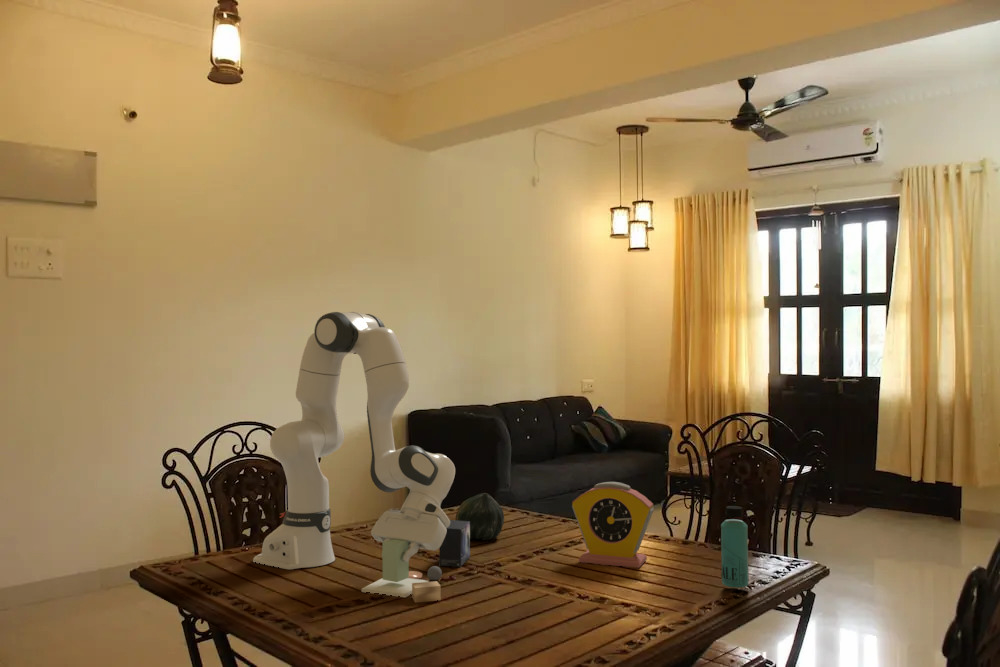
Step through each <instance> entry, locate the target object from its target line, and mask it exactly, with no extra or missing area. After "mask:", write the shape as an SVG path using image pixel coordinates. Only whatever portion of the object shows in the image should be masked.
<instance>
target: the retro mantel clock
mask: <svg viewBox="0 0 1000 667" xmlns="http://www.w3.org/2000/svg"><path fill="white" fill-rule="evenodd" d="M571 503H572V505H571V508H572V510H573V513H574V516H575V519H576V522H577V525H578V527H579V531H580V532H581V536H582V539H583V542H584V544H585V546H586V549H587V550H586V551H585V552H584V553H583V554H582V555H580V556H579V557H578V562H579V563H580V562H581V563H580V564H587V563H594V564H593V565H598V564H603V565H602V566H608V565H611V567H619V566H623V567H622V568H629V567H635V568H634V569H639V568H640V567H641V566H643V564H644V563H645V562H646V561H647V559H648V558H647V557H648V556H647V554H646V553H638V551H639V550H640V548H641V545H642V542H643V539H644V537H645V534H646V531H647V528H648V527H649V526H648V525H649V523H650V520H651V519H652V518H651V517H652V516H653V515H652V514H653V512H654V509H655V508H654V503H653V502H652V501H651V500H649V499H648V497H646V496H645V495H644V494H642V493H640V492H639V491H638V490H636V489H633V488H631V486H630V485H629V484H625V483H623V482H618V481H604V482H599V483H597V484H594V486H593V487H592V488H590V489H589V490H587V491H585V492H584V493H582V494H580V495H579V496H577V497H576V498H575V499H573V501H572V502H571ZM636 567H637V568H636Z"/></svg>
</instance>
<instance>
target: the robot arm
mask: <svg viewBox="0 0 1000 667" xmlns="http://www.w3.org/2000/svg"><path fill="white" fill-rule="evenodd" d="M348 354H354V355H358V357H360V359H361V362H362V366H363V372H364V377H365V382H366V392H367V402H366V416H367V422H368V424H367V426H368V432H369V434H368V435H369V441H370V447H371V448H370V449H371V462H370V470H369V471H370V477H371V480H372V482H373V484H374V485H375V486H376V488H378V489H379V490H380V491H382V492H384V493H393V492H396V491H398V490H401V489H403V488H405V487H407V489H409V493H408V495H407V496H406V499H405V500H404V502H403V504H402V506H401V507H400V508H395V507H391V508H389V509H388V510H385V511H384V512H383V513H382V514H381V516H380V517H379V518H378V519H377V521H376V522H375V524H374V525H373V526H372V528H371V531H370V533H371V536H372V537H373V538H374V540H375V541H377V542H378V543H379V542H380V543H382V542H385V541H389V540H392V539H397V540H403V541H409V549H408V550H407V551H406V552H402V555H401V556H400V559H401V560H402V561H403V562H408V561H409V562H410V558H411V557H413V556H414V555H416V553H417V552H419V550H420V549H421V550H422V549H423V550H430V551H437V550H438V549H439V548H440V546H441V545H442V543H443V540H444V538H445V536H446V533H447V529H446V528H447V527H449V525H450V520H451V519H450V518H449V517H448V515H447V514H446V513H445V511H444V510H443V509H442V508H441V505H442V503H443V500H444V499H445V498H446V497H447V495H448V494H449V491H450V489H451V487H452V485H453V483H454V479H455V475H456V467H455V464H454V462H453V461H452V460H451V459H450V458H449V457H447V455H445V454H443V453H432V452H429V451H426V450H424V448H422V447H420V446H418V445H414V444H412V445H408V446H404V447H401V448H399V449H396V447H395V445H396V444H395V439H394V437H395V436H394V430H393V424H392V423H393V421H392V420H393V415H394V412H395V410H396V408H397V406H398V405H399V403H400V402H401V401H402V399H403V398H404V397H405V396H406V394H407V392H408V390H409V386H410V379H409V378H410V377H409V371H408V366H407V363H406V359H405V356H404V351H403V350H402V347H401V344H400V342H399V339H398V337H397V335H396V333H395V332H394V331H393V330H392V329H391V328H389V327H386V326H385V324H384V323H383V321H382V320H381V319H380V318H379V317H376V316H375V315H373V314H370V313H362V312H356V311H348V312H338V311H332V312H329V313H326V314H323V315H322V316H320V317H319V318H318V320H316V323H315V325H314V332H313V333H311V334H310V336H309V337H308V339H307V340H306V343H305V347H304V350H303V352H302V356H301V362H300V365H299V371H298V378H297V383H296V390H295V397H296V399H297V401H298V402H299V403H300V406H301V410H302V411H301V412H302V414H301V415H302V416H301V419H300V420H295V421H290V422H287V423H285V424H283V425H281V426H279V427H277V428H276V429H274V431H273V433H272V434H271V437H270V439H269V445H270V446H269V447H270V451H271V453H272V455H273V456H274V457H275V458H276V460H278V461H279V462H280V463H281V466H282V468H283V472H284V474H285V475H284V476H285V478H286V483H287V484H286V486H287V508H288V509H287V510H285V511H284V512H282V513H279V515H281V516H279V518H283V519H282V524H280V525H279V526H278V527H276V529H274V530H273V531H272V532H270V533H269V534H268V535H267V536H266V537H264V540H263V543H262V548H261V553H259V554H257V555H255V556H254V557H253V559H252V562H253V563H255V562H256V564H259V563H260V564H259V565H264V564H265V566H269V567H270V566H271V567H273V566H274V567H275V568H278V567H279V569H284V570H294V569H295V570H296V569H301V568H302V569H303V568H315V567H319V566H325V565H328V564H331V563H333V562H335V560H336V557H335V556H336V555H335V553H334V550H333V544H332V539H331V538H332V537H331V530H330V529H331V525H332V523H331V522H332V521H331V520H332V518H331V516H332V515H331V512H332V511H331V508H330V483H329V479H328V478H327V477H326V475H324V474H323V472H322V470H321V467H320V462H319V458H322V457H323V458H324V457H327V456H329V455H331V454H333V453H334V452H336V451H337V450H339V449H340V448H341V447H342V445H343V443H344V440H345V432H344V429H343V426H342V425H341V423H340V422H339V419H338V418H339V417H338V413H337V396H338V392H339V384H340V377H341V372H342V371H341V370H342V365H343V360H344V358H345V357H346V355H348ZM381 557H382V553H381Z"/></svg>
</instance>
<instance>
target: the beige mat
mask: <svg viewBox="0 0 1000 667" xmlns="http://www.w3.org/2000/svg"><path fill="white" fill-rule="evenodd" d="M421 582H430V579H429V580H428V579H421V578H420V579H411V578H407V579H404V580H401V581H399V582H393V581H388V580H383V577H382V578H379V579H377V580H376V581H374V582H372V583H370V584H367V585H366V586H364V587H362V588H361V592H362V593H366V592H370V593H369V594H374V593H379V594H378V595H382V594H386V595H385V596H390V595H392V596H391V597H398V596H400V597H399V598H407V597H409V596H411V595H412V583H421ZM410 594H411V595H410Z"/></svg>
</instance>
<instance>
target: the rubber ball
mask: <svg viewBox="0 0 1000 667" xmlns="http://www.w3.org/2000/svg"><path fill="white" fill-rule="evenodd" d="M442 571H443V570H442V569H441V568H440V566H437V565H433V566H431V567H430V568H428V570H427V577H428V579H429V581H431V582H433V581H437V582H438V581H439V580H440V579H441V577H443V576H442V575H443V572H442Z"/></svg>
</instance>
